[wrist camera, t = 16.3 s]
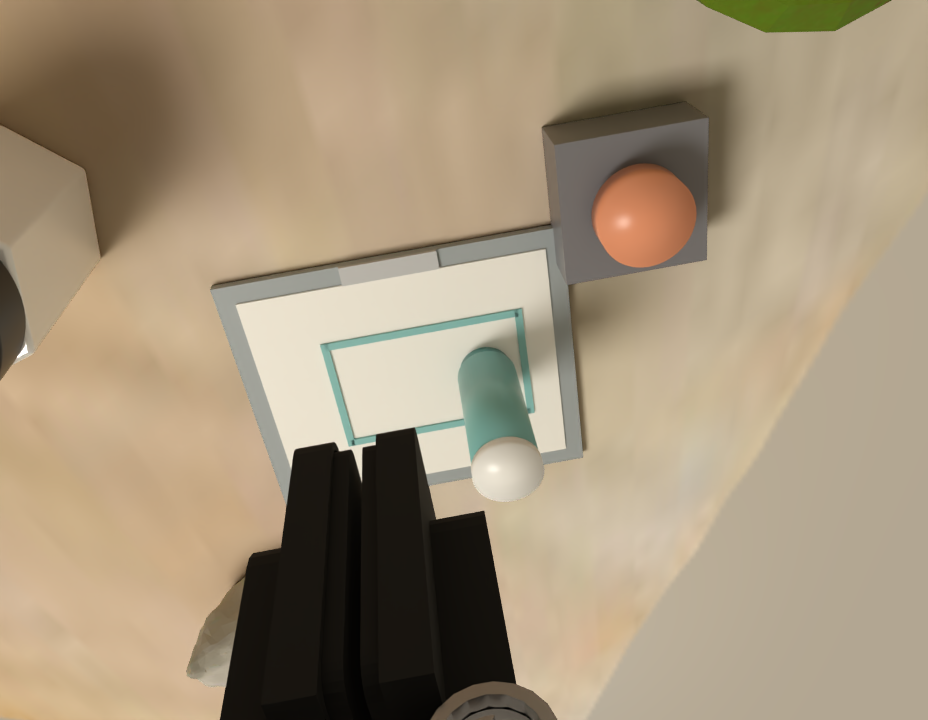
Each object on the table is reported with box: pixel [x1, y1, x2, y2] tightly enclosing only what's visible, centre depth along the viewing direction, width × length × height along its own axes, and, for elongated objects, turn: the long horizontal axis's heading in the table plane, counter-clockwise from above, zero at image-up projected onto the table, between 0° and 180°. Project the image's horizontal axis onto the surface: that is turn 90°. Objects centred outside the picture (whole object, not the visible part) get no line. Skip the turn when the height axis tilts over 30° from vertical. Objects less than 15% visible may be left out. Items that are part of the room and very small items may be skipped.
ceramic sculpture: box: [186, 577, 245, 687], centre depth 50 cm, size 11×9×15 cm
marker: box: [458, 347, 544, 502], centre depth 40 cm, size 3×3×9 cm
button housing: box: [542, 102, 709, 285], centre depth 39 cm, size 7×7×3 cm
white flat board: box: [210, 225, 583, 506], centre depth 44 cm, size 18×15×1 cm
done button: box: [591, 163, 697, 267], centre depth 37 cm, size 4×4×4 cm
